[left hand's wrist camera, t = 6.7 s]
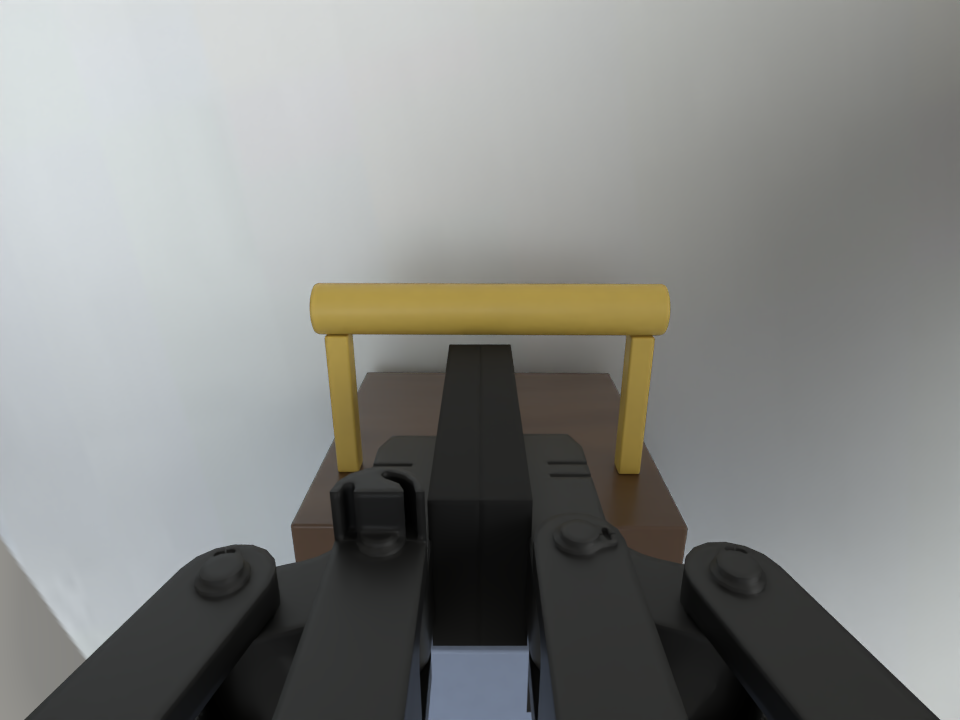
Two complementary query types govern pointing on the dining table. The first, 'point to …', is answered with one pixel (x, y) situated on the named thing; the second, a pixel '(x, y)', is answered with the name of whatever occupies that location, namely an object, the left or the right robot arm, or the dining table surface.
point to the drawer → (542, 396)
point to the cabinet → (479, 683)
